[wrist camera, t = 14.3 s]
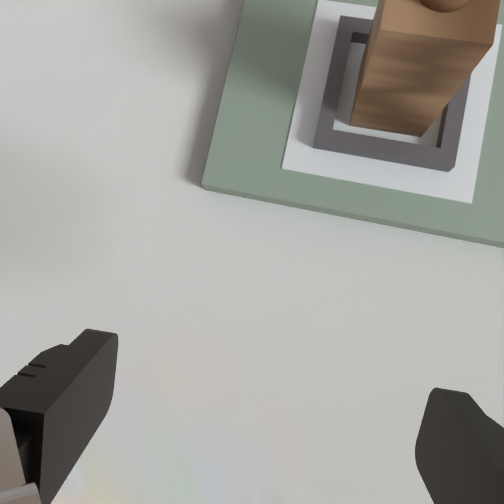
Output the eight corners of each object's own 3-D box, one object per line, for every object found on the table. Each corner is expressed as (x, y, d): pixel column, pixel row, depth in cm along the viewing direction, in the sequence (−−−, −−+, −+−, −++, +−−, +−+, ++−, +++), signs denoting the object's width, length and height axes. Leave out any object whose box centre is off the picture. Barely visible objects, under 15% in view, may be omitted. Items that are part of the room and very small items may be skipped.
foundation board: (205, 189, 30) (197, 178, 28) (254, -21, 32) (251, -50, 29) (537, 254, 28) (563, 249, 25) (573, 23, 29) (601, -6, 27)
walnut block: (349, 125, 28) (383, 16, 17) (361, 59, 29) (403, -86, 18) (421, 137, 28) (502, 32, 17) (433, 69, 28) (519, -74, 17)
